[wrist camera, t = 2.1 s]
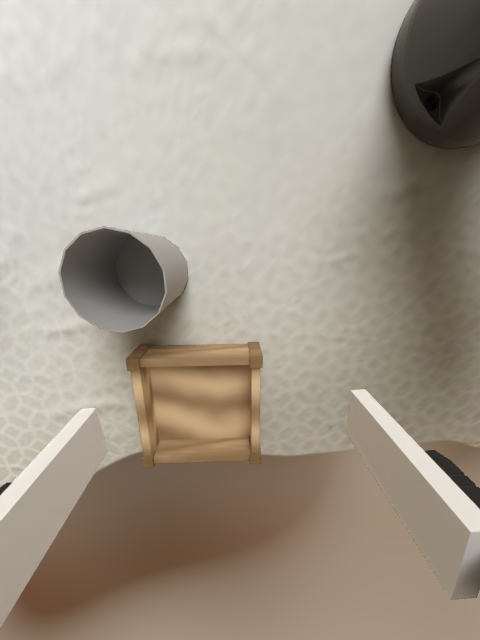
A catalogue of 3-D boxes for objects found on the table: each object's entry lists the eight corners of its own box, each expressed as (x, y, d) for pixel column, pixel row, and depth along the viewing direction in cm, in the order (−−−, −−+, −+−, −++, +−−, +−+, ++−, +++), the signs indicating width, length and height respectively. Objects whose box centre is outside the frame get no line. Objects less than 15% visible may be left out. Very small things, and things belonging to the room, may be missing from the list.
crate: (140, 344, 32) (125, 359, 27) (258, 342, 32) (262, 356, 28) (153, 441, 36) (142, 467, 32) (257, 438, 36) (260, 463, 32)
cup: (153, 318, 31) (116, 350, 21) (102, 267, 29) (37, 277, 19) (202, 274, 29) (188, 287, 20) (152, 218, 27) (109, 202, 18)
